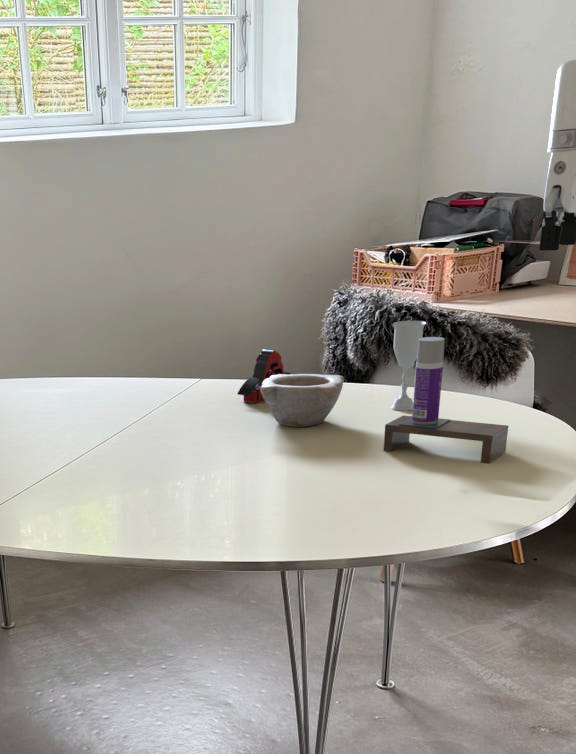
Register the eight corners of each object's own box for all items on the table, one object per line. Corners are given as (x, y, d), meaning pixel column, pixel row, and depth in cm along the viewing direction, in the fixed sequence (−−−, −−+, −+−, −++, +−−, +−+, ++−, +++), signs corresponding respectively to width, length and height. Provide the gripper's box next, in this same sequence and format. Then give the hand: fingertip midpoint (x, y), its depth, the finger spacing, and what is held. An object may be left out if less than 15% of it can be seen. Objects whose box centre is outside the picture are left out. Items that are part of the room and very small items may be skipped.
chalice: (414, 412, 205) (421, 326, 198) (383, 410, 209) (388, 325, 201) (422, 405, 211) (429, 320, 203) (391, 403, 214) (397, 320, 206)
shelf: (505, 452, 174) (508, 424, 172) (489, 463, 169) (492, 434, 167) (401, 440, 186) (403, 414, 184) (383, 450, 181) (385, 423, 179)
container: (442, 423, 176) (449, 339, 169) (417, 425, 176) (423, 342, 169) (432, 417, 180) (439, 335, 173) (408, 419, 180) (414, 338, 173)
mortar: (346, 413, 209) (348, 371, 205) (334, 432, 195) (336, 387, 191) (270, 412, 215) (271, 371, 211) (253, 430, 201) (253, 387, 197)
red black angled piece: (247, 405, 222) (247, 356, 217) (237, 403, 225) (236, 355, 220) (298, 391, 232) (299, 344, 227) (287, 390, 234) (288, 343, 230)
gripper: (579, 141, 157) (564, 252, 164) (609, 138, 168) (593, 242, 176) (532, 144, 161) (520, 252, 169) (564, 142, 173) (551, 243, 181)
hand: (557, 247), depth 173 cm, fingers open, 9 cm apart
